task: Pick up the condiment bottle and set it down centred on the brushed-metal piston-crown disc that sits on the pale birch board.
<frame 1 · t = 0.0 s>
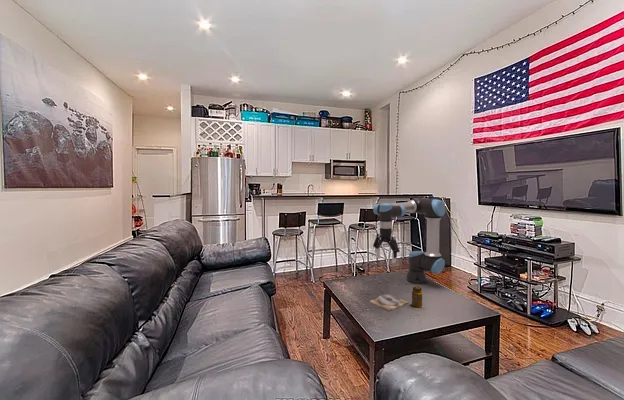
hand: (385, 260, 181), 28 cm above the table, fingers open, 13 cm apart
condiment: (415, 306, 177), on the table
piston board: (389, 302, 183), on the table
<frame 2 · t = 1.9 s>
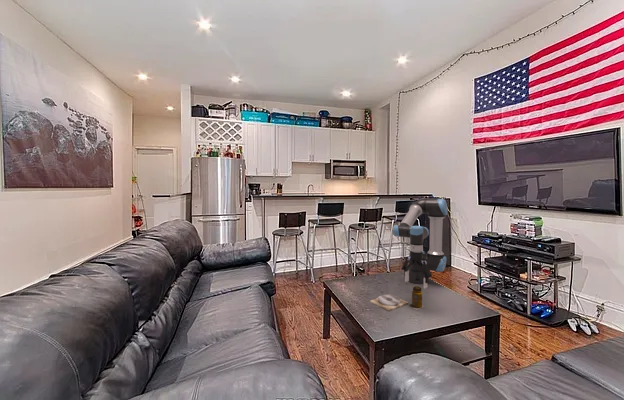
hand: (415, 284, 176), 14 cm above the table, fingers open, 13 cm apart
nothing on the table moved.
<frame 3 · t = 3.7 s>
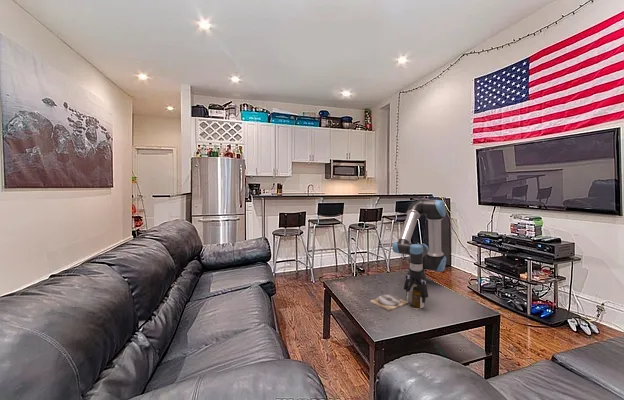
hand: (415, 304, 178), 1 cm above the table, fingers open, 9 cm apart
nothing on the table moved.
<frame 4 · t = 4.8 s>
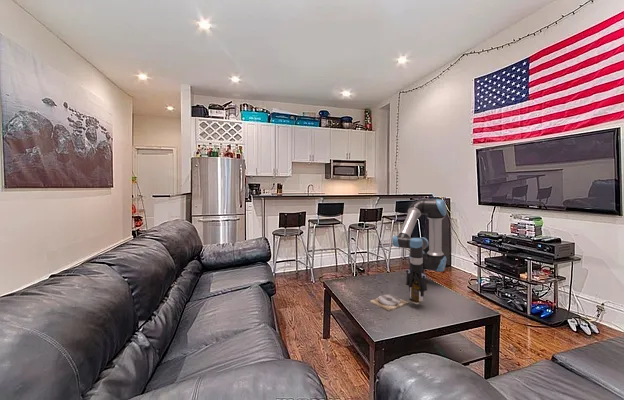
hand: (416, 298, 177), 5 cm above the table, fingers closed on condiment, 6 cm apart
condiment: (416, 300, 178), point 3 cm above the table, touching gripper
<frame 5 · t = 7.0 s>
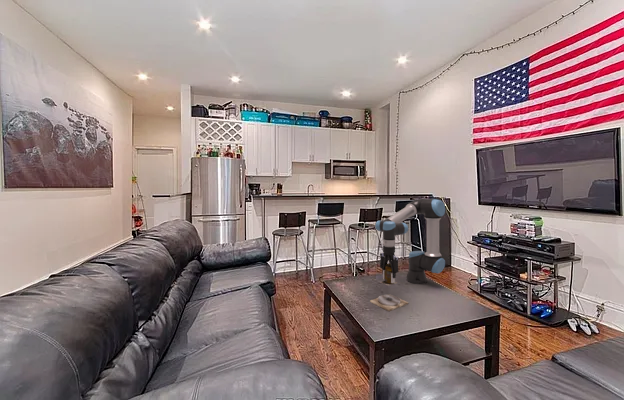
hand: (388, 281, 182), 15 cm above the table, fingers closed on condiment, 6 cm apart
condiment: (388, 283, 182), point 13 cm above the table, touching gripper
when the fingers open (4 cm above the table, at t = 9.1 s): condiment stays where it is, resting on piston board.
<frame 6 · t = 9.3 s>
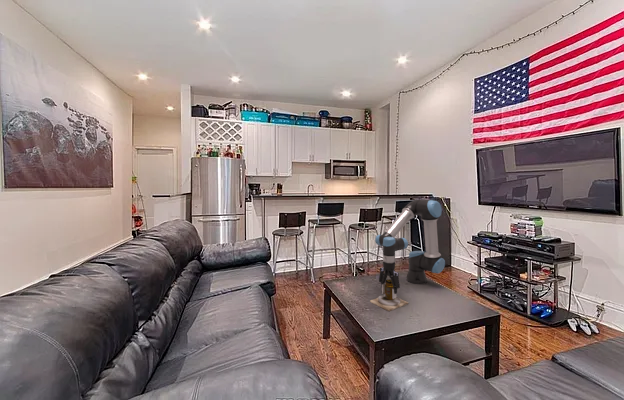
hand: (389, 295, 182), 5 cm above the table, fingers open, 8 cm apart
condiment: (388, 299, 183), point 2 cm above the table, touching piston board
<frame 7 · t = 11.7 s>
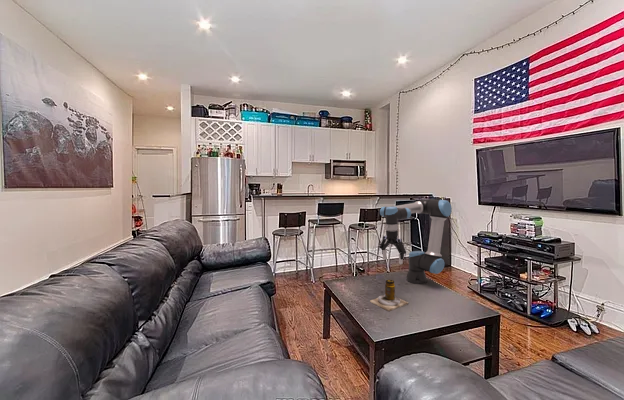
hand: (392, 261, 188), 25 cm above the table, fingers open, 13 cm apart
nothing on the table moved.
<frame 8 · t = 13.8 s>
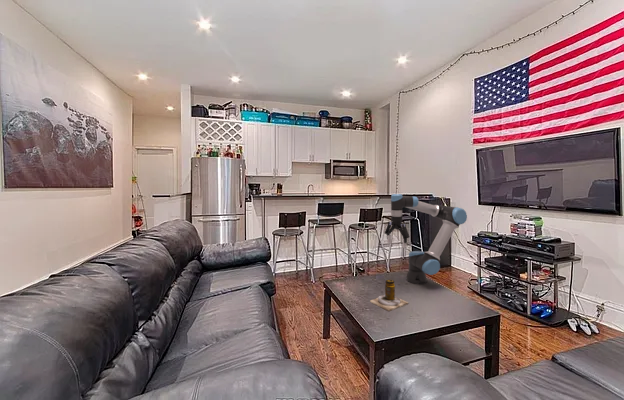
hand: (396, 245, 200), 33 cm above the table, fingers open, 13 cm apart
nothing on the table moved.
at the end: condiment inside the target area on the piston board (0.1 cm from its centre), point 2.4 cm above the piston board's base; condiment tilted 0°; the gripper is holding nothing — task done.
